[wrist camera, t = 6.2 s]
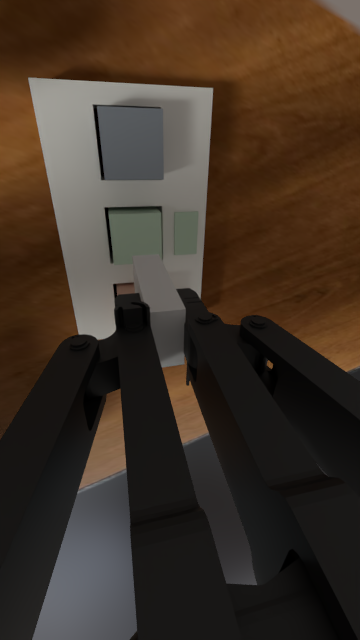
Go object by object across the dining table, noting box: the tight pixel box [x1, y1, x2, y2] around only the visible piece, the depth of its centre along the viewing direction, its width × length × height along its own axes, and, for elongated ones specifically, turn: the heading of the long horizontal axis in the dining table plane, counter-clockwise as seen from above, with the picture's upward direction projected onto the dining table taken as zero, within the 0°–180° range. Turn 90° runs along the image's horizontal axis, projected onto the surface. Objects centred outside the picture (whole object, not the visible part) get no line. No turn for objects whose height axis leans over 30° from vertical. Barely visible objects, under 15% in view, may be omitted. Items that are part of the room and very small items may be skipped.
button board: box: [28, 78, 213, 339], centre depth 26 cm, size 20×12×3 cm, turn 179°
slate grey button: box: [97, 106, 164, 180], centre depth 20 cm, size 4×4×3 cm
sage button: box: [108, 206, 162, 265], centre depth 25 cm, size 4×4×3 cm
